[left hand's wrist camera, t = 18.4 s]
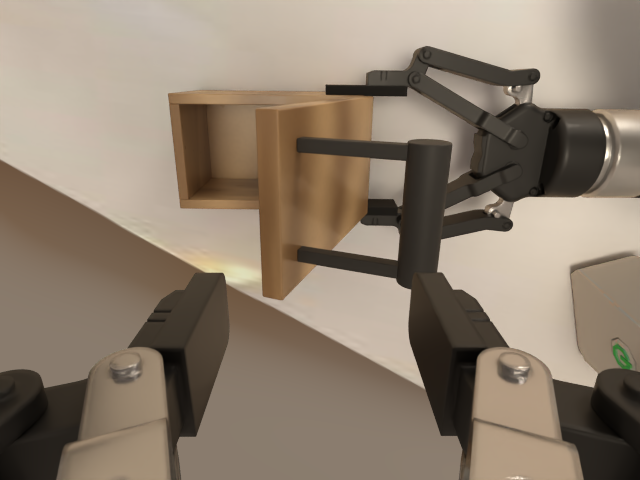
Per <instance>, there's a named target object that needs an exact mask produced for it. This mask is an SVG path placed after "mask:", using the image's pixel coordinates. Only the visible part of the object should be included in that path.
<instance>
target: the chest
mask: <svg viewBox="0 0 640 480" xmlns="http://www.w3.org/2000/svg"><path fill="white" fill-rule="evenodd" d="M356 96H364V95H326V92H303V91H222V90H197V91H187V92H177V93H169V94H168V97H169V106H170V115H171V125H172V134H173V143H174V152H175V161H176V171H177V180H178V189H179V198H180V207H181V208H202V209H259V191H258V166H257V141H256V117H255V110H256V109H257V108H263V107H272V106H280V105H289V104H297V103H305V102H314V101H322V100H331V99H339V98H348V97H356Z"/></svg>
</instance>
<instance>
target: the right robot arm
mask: <svg viewBox="0 0 640 480" xmlns="http://www.w3.org/2000/svg"><path fill="white" fill-rule="evenodd" d="M428 67H431V68H435V69H438V70H442V71H445V72H449V73H452V74H456V75H459V76H462V77H466V78H469V79H473V80H476V81H480V82H483V83H486V84H490V85H496V86H503V91H504V93H505V94H506V95H508V96H512V97H513V98H514V99H515V104H513V105H512V106H510V107H509V108H507V109H506V110H504V111H503V112H501V113H500V114H498V115H497V116H493V115H491V114H490V113H488V112H486V111H484V110H482V109H480V108H479V107H477V106H475V105H474V104H472V103H470V102H469V101H467V100H465V99H464V98H462V97H461V96H459V95H457V94H456V93H454V92H452V91H451V90H449V89H447V88H446V87H444V86H442V85H441V84H439V83H438V82H436V81H434V80H433V79H431V78H429V77H428V76H426V75H425V73H426V71H427V69H428ZM539 79H540V72H539V71H538V70H537V69H516V70H508V69H504V68H501V67H497V66H494V65H491V64H487V63H484V62H480V61H477V60H474V59H470V58H467V57H464V56H460V55H457V54H453V53H450V52H447V51H443V50H440V49H436V48H433V47H430V46H425V47H422V48H419V49H417V50H416V51H415V52H414V54H413V59H412V61H411V63H410V65H409V67H408V68H407V69H406V70H404V71H378V70H374V71H371V72H368V73H366V85H326V95H364V96H407V87H410V88H411V89H413V90H415V91H416V92H418V93H420V94H421V95H423V96H425V97H426V98H428V99H430V100H431V101H433V102H435V103H436V104H438V105H440V106H441V107H443V108H445V109H446V110H448V111H450V112H451V113H453V114H455V115H456V116H458V117H460V118H461V119H463V120H465V121H466V122H467V123H469V124H471V125H472V126H474V127H476V128H477V129H479V130H478V132H477V133H475V135H474V150H475V151H474V154H473V156H472V159H471V164H470V169H472V170H471V171H469V172H467V173H465V174H463V175H461V176H460V177H459V178H458V179H457V180H454V181H452V182H450V183H448V185H447V193H446V201H445V209H446V208H448V207H450V206H453V205H455V204H457V203H459V202H461V201H463V200H465V199H468V198H470V197H475V196H479V195H481V194H483V193H486V192H488V191H490V190H491V191H492V192H494V193H495V194H496V195H497V196H498V197H499V200H498V201H497V202H496V203H494V204H489V205H487V206H486V207H485V209H484V210H481V209H480V210H471V211H467V212H462V213H458V214H453V215H448V216H444V218H443V226H442V235H441V239H445V238H450V237H454V236H459V235H464V234H468V233H473V232H477V231H482V230H494V231H504V232H506V231H509V230H510V229H512V227H513V222H512V221H511V220H510V219H509V217H510V214H511V210H512V207H513V203H514V202H516V201H518V200H520V199H522V198H525V197H578V196H582V197H587V198H640V110H624V109H596V110H593V111H591V110H588V109H547V108H539V107H537V106H536V105H535V104H533V103H532V94H533V84H535V83H537V82H538V80H539ZM401 217H402V206H400V207H397V205H396V203H395V202H394V200H393V199H368V209H367V214H366V215H365V216H364V217H363V218H362V219H361V220H360V221H361V223H362V224H364V225H381V226H396V227H397V228H398V230H399V234H400V229H401Z"/></svg>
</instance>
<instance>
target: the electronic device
mask: <svg viewBox="0 0 640 480" xmlns="http://www.w3.org/2000/svg"><path fill="white" fill-rule="evenodd" d="M571 280H572V290H573V300H574V310H575V320H576V330H577V340H578V347H579V349H580V351H581V353H582V355H583V358H584V360H585V361H586V362H587V363H588V364H589V365H590V366H591V367H592V368H593V369H594V370H595V371H596V372H597V373H598V374H599V373H600V372H601V371H604V370H606V369H612V368H622V369H629V370H634V371H638V372H640V257H637V256H629V257H625V258H621V259H617V260H613V261H609V262H605V263H601V264H597V265H593V266H589V267H585V268H581V269H577V270H575V271H574V272H573V273H571Z"/></svg>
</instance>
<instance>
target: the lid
mask: <svg viewBox="0 0 640 480" xmlns="http://www.w3.org/2000/svg"><path fill="white" fill-rule="evenodd" d="M372 114H373V97H372V96H356V97H348V98H339V99H331V100H322V101H314V102H305V103H297V104H289V105H280V106H272V107H263V108H257V109H256V110H255V117H256V141H257V166H258V191H259V215H260V240H261V265H262V289H263V296H264V297H268V298H273V299H278V300H283V299H284V298H285V297H286V296H287V295H288V294H289V293H290V292H291V291H292V290H293V289H294V288H295V287H296V286H297V285H298V284H299V283H300V282H301V281H302V280H303V279H304V278H305V277H306V276H307V274H308V273H309V272H310V271H311V270H312V269H313V268H314V267H315V266H316V265H320V266H326V267H332V268H337V269H343V270H349V271H355V272H361V273H367V274H373V275H379V276H384V277H390V278H396V280H397V283H398V284H399V285H401V286H402V287H405V288H407V289H412V279H413V275H414V273H437V268H438V260H439V251H440V243H441V235H442V226H443V218H444V210H445V201H446V193H447V185H448V176H449V168H450V160H451V151H452V143H451V142H448V141H443V140H433V139H416V140H410V141H408V143H396V142H380V141H371V133H372ZM370 158H376V159H389V160H402V161H406V169H405V181H404V193H403V205H402V217H401V229H400V241H399V253H398V261H396V260H390V259H383V258H377V257H370V256H364V255H358V254H351V253H345V252H338V251H332V249H333V248H334V247H335V246H336V245H337V244H338V243H339V242H340V241H341V240H342V239H343V238H344V237H345V236H346V235H347V234H348V232H349V231H350V230H351V229H352V228H353V227H354V226H355V225H356V224H357V223H358V222H359V221H360V220H361V219H362V218H363V217H364V216H365V215H366V214H367V209H368V190H369V171H370Z"/></svg>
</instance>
